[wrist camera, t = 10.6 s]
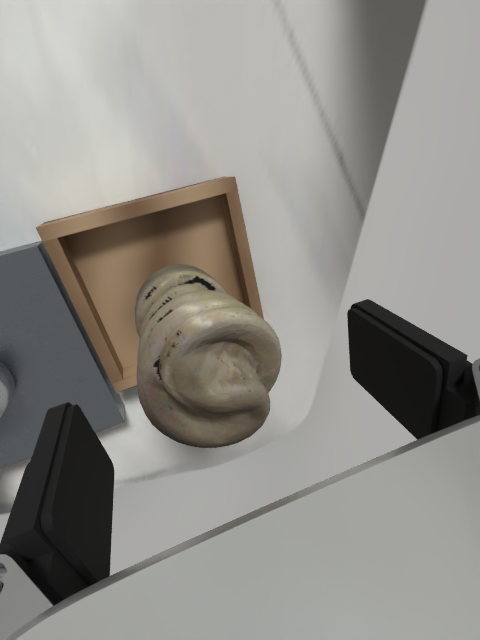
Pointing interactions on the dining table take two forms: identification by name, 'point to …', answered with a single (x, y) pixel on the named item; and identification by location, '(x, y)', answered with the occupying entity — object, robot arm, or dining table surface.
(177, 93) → the dining table surface
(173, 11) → the dining table surface
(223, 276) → the tray
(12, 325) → the crank base
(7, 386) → the crank
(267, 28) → the dining table surface
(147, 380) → the light bulb
